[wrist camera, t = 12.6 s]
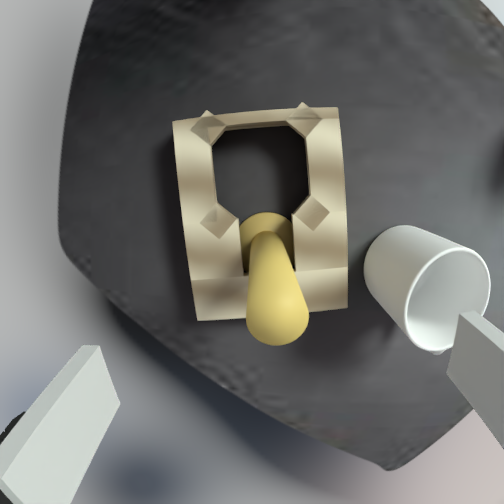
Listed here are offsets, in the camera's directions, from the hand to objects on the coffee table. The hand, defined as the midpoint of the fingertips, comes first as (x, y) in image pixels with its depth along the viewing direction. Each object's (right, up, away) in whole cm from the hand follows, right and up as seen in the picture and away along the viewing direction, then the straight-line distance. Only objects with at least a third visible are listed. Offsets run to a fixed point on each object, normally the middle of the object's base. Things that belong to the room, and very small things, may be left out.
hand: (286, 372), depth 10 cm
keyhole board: (0, +8, +20) cm, 21 cm away
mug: (+15, +1, +22) cm, 26 cm away
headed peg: (0, +5, +21) cm, 21 cm away
